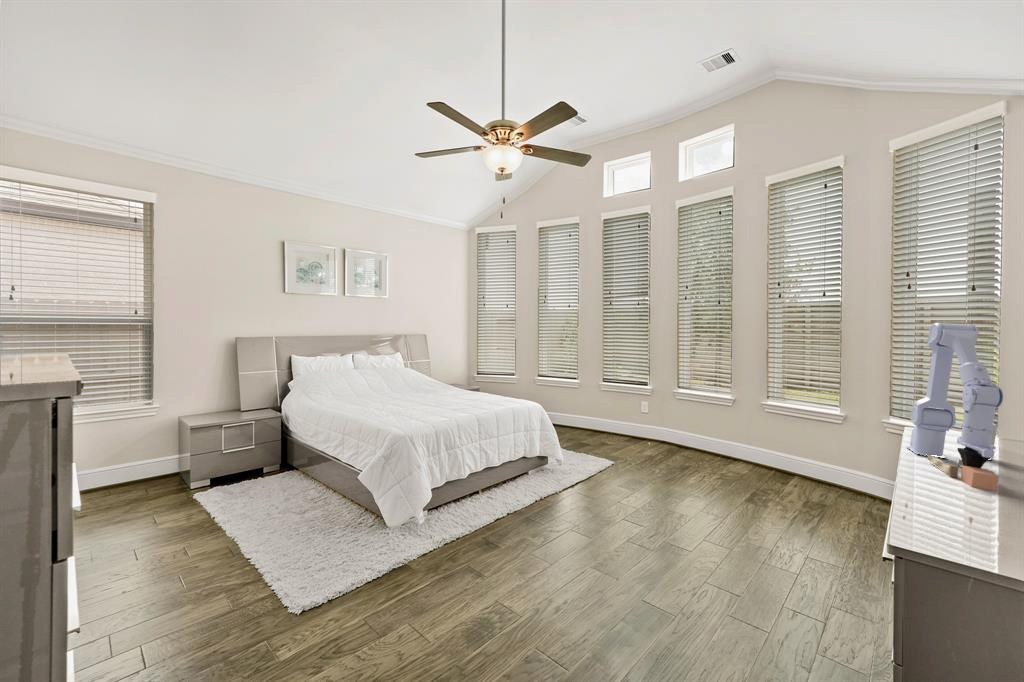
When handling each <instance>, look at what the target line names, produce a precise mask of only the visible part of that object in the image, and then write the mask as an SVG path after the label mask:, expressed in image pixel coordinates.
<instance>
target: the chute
mask: <svg viewBox="0 0 1024 682" xmlns="http://www.w3.org/2000/svg"><path fill="white" fill-rule="evenodd" d="M927 460H929V461H930V462H932V463H933V464H935V465H936V466H938V467H939V468H940V469H941V470H943V471H944V472H945V473H946V474H945V473H944V472H943V473H944V474H945V475H946V476H948V475H949V476H948V477H949V478H954V477H955V478H956V479H957V478H958V473H959V468H961V467H963V463H962V459H958V463H957V465H954V464H948V463H946V462H945V461H943V460H941V458H937V457H935V456H931V455H928V456H927V459H926V461H927ZM958 465H959V466H960V467H959V466H958ZM941 470H940V471H941ZM990 471H991V472H993V473H994V474H995V472H994V471H992V470H990Z"/></svg>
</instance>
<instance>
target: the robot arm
mask: <svg viewBox="0 0 1024 682" xmlns="http://www.w3.org/2000/svg"><path fill="white" fill-rule="evenodd" d="M979 333H980V331H979V328H978V327H977V326H976V325H975V324H961V323H960V324H959V323H946V322H945V323H943V322H942V323H941V322H935V323H934V324H933V325H931V327H930V328H929V329H928V337H927V347H928V348H931V349H932V351H931V358H930V365H929V372H928V378H927V379H928V381H927V386H926V387H927V389H926V394H925V397H923V398H920V399H918V400H916V401H914V403H913V406H912V409H911V410H910V415H909V416H910V417H909V418H910V421H911V422H912V424H913V425H914V427H913V429H912V430H911V436H910V442H909V443H910V444H909V445H906V449H908V450H909V449H910V451H911V452H912V451H913V452H912V453H914V454H915V453H916V454H915V455H917V454H920V455H919V456H922V455H926V454H927V455H937V456H942V455H944V449H945V442H946V434H947V432H949V431H950V430H951V429H952V428H954V427H955V425H956V422H957V421H956V420H957V417H956V408H955V406H954V405H953V404H951V403H950V402H949V401H948V400H947V399H948V394H949V393H948V391H949V385H950V379H951V372H952V364H953V357H954V353H955V355H956V357H957V359H958V361H959V363H960V366H959V368H958V370H957V371H958V375H959V376H960V380H961V383H962V386H963V390H962V393H961V398H962V399H961V400H962V409H963V410H964V414H963V415H964V416H963V420H962V422H963V423H962V430H961V436H957V440H956V444H958V445H961V446H963V447H957V451H958V453H959V456H960V458H961V459H960V460H962V463H963V466H969V467H976V468H982V467H983V466H984V465H985V464H986V462H988V459H990V458H992V459H994V456H995V450H996V448H997V447H996V446H995V445H994V446H993V445H990V443H991V436H992V430H993V423H994V422H995V415H996V409H997V408H999V407H1000V406H1001V405H1002V404H1003V401H1004V394H1003V393H1004V392H1003V390H1002V388H1001V387H1000V386H997V384H996V383H993V381H992V379H991V377H990V373H989V372H988V369H987V366H986V365H984V364H983V363H979V358H978V355H977V350H976V346H975V345H976V343H977V341H978V339H979V335H980V334H979ZM994 424H995V423H994ZM992 449H993V450H992ZM982 469H983V468H982Z"/></svg>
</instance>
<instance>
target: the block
mask: <svg viewBox="0 0 1024 682" xmlns="http://www.w3.org/2000/svg"><path fill="white" fill-rule="evenodd" d="M991 471H992V470H989V469H987V468H976V467H969V466H963V467H962V468H961V473H960V474H961V475H960V480H961V481H962V482H964V483H965V484H967V485H968V486H970V487H972V488H977V489H983V490H989V491H994V492H997V491H998V486H999V479H1000V476H999V475H997V474H995V472H994V471H992V472H991ZM993 472H994V473H993Z"/></svg>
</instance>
